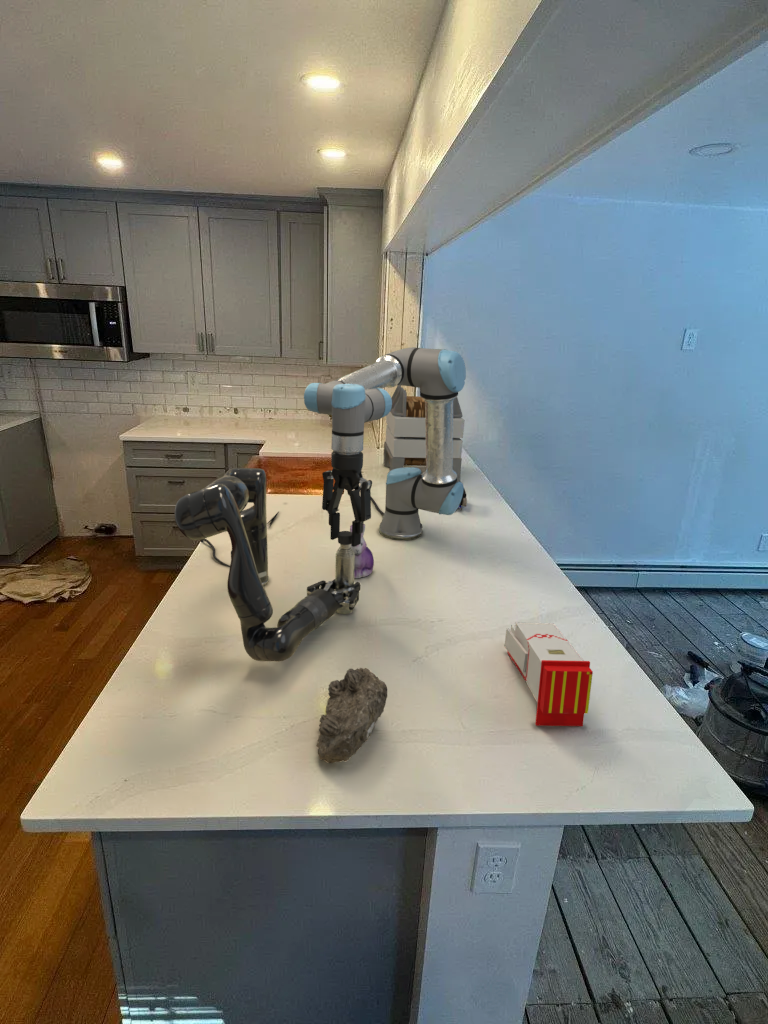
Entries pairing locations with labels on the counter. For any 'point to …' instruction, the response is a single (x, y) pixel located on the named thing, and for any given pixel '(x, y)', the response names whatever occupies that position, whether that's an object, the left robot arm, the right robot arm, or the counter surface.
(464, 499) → the figurine character
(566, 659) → the toy
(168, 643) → the counter surface
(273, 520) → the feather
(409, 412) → the grey wooden crate
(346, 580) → the bottle
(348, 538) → the cap
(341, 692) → the fossil
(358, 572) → the figurine
